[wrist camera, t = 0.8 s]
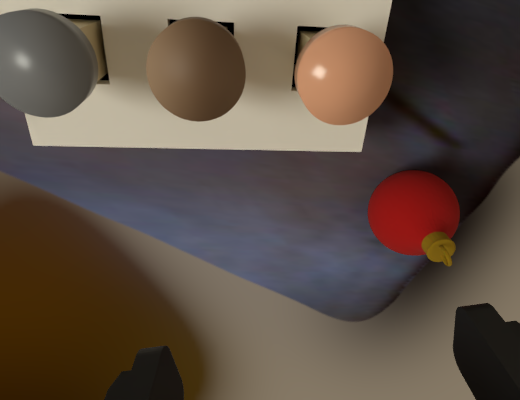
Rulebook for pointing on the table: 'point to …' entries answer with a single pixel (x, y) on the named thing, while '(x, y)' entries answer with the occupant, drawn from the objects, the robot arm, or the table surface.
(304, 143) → the knob console
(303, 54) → the terracotta knob
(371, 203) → the christmas ornament
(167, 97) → the walnut knob
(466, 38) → the table surface
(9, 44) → the charcoal knob
